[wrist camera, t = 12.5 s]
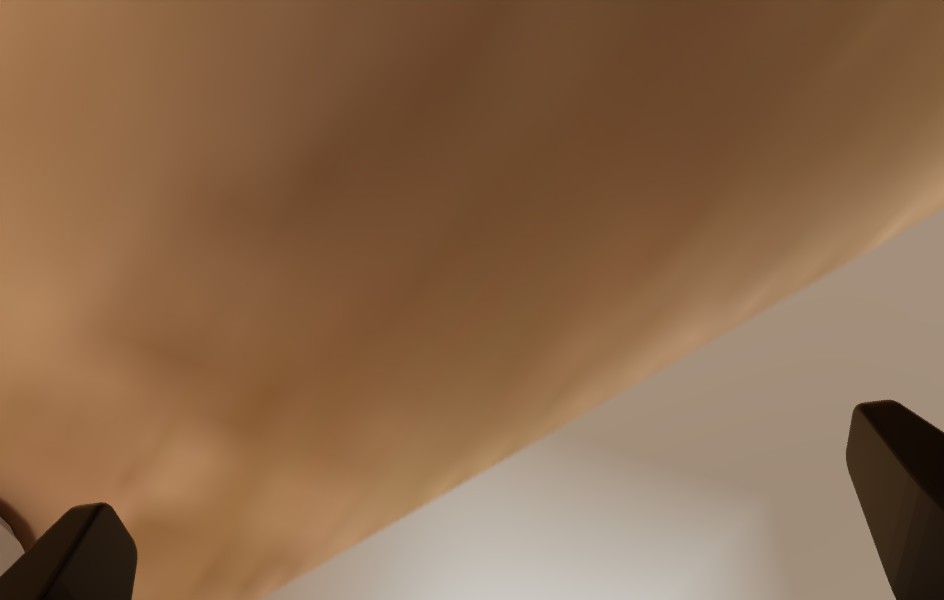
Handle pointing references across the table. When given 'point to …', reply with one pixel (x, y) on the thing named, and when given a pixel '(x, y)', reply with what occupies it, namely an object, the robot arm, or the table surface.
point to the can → (8, 547)
